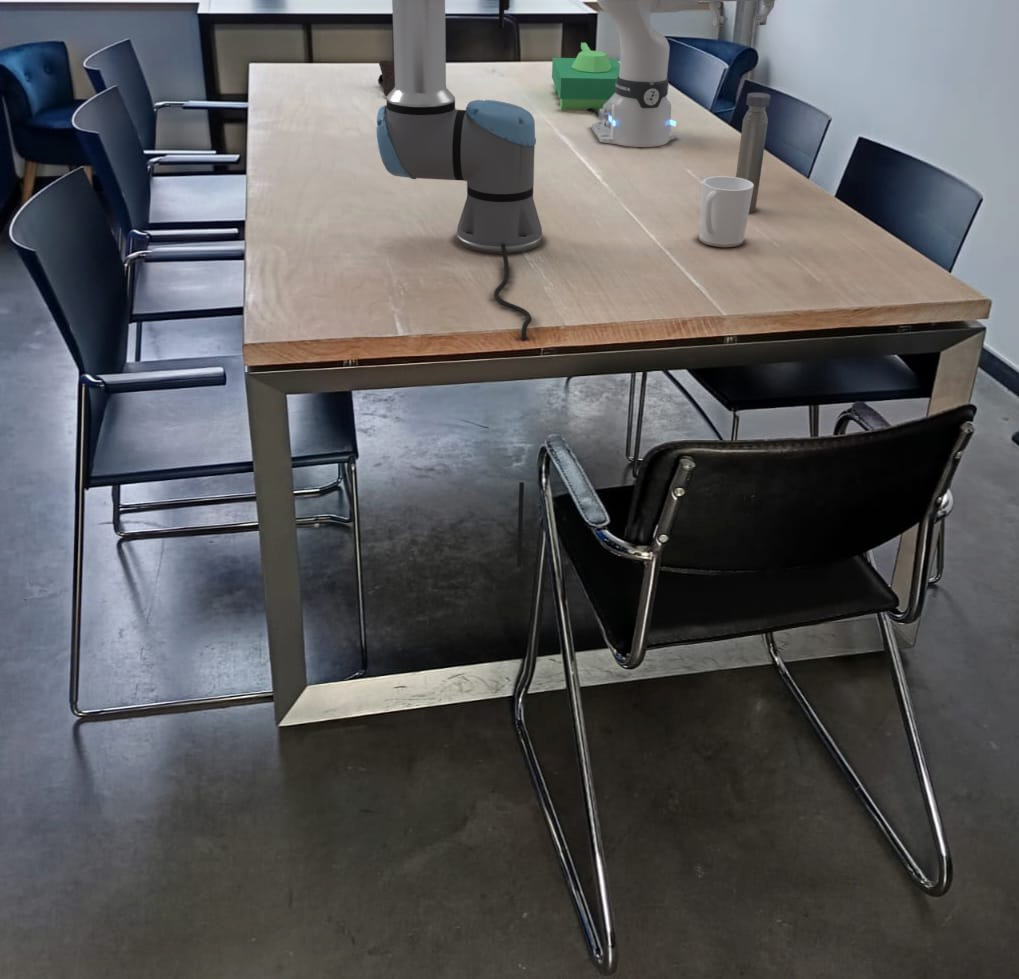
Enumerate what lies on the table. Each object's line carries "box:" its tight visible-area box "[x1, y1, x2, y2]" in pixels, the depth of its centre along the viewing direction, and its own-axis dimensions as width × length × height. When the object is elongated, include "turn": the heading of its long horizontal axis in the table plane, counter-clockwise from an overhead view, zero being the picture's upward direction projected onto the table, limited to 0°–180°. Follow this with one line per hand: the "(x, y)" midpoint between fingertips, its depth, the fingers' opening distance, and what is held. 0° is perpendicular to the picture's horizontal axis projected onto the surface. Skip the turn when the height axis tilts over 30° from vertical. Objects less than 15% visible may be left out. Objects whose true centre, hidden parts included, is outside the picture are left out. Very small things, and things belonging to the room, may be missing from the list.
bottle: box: [735, 106, 769, 214], centre depth 209 cm, size 5×5×21 cm
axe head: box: [377, 59, 395, 97], centre depth 299 cm, size 18×8×15 cm
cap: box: [745, 92, 771, 108], centre depth 204 cm, size 4×4×2 cm
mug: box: [698, 175, 754, 248], centre depth 195 cm, size 11×9×10 cm
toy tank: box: [551, 42, 620, 111], centre depth 293 cm, size 18×12×35 cm
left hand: (468, 26), depth 224 cm, fingers open, 13 cm apart
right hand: (739, 25), depth 218 cm, fingers open, 8 cm apart
